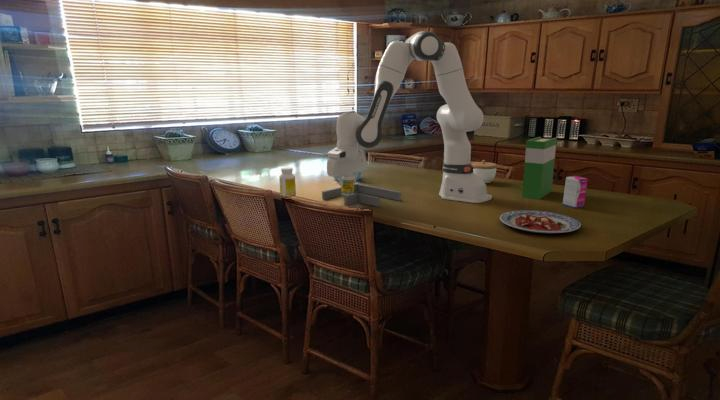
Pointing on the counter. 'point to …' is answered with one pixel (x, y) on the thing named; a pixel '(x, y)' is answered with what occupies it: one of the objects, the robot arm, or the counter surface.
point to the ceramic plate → (540, 221)
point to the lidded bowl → (485, 170)
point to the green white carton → (539, 167)
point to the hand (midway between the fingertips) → (347, 184)
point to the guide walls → (363, 195)
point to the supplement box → (575, 191)
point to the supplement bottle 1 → (287, 182)
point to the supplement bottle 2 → (348, 184)
